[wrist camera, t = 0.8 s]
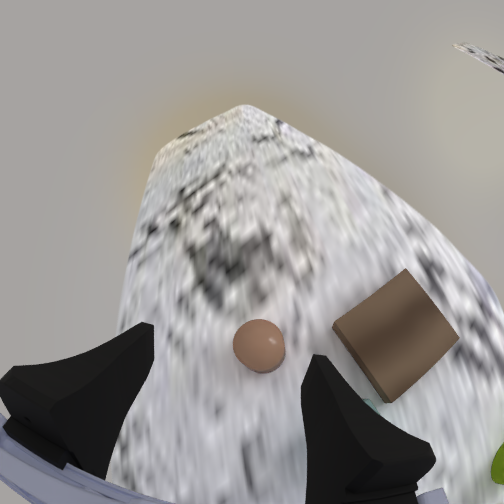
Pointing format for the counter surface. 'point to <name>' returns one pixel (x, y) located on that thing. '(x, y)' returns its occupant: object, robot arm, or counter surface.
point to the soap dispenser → (498, 466)
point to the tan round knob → (259, 346)
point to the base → (396, 335)
